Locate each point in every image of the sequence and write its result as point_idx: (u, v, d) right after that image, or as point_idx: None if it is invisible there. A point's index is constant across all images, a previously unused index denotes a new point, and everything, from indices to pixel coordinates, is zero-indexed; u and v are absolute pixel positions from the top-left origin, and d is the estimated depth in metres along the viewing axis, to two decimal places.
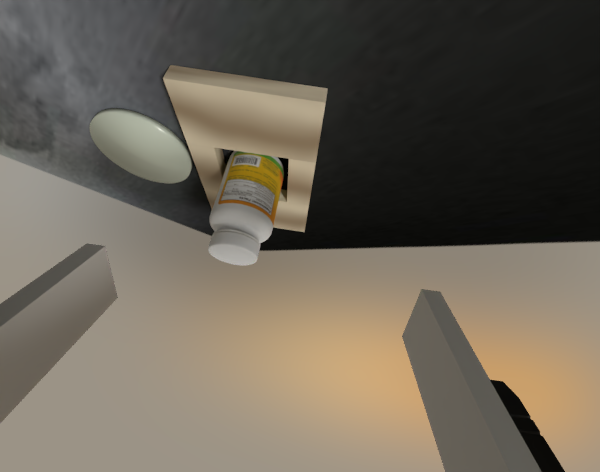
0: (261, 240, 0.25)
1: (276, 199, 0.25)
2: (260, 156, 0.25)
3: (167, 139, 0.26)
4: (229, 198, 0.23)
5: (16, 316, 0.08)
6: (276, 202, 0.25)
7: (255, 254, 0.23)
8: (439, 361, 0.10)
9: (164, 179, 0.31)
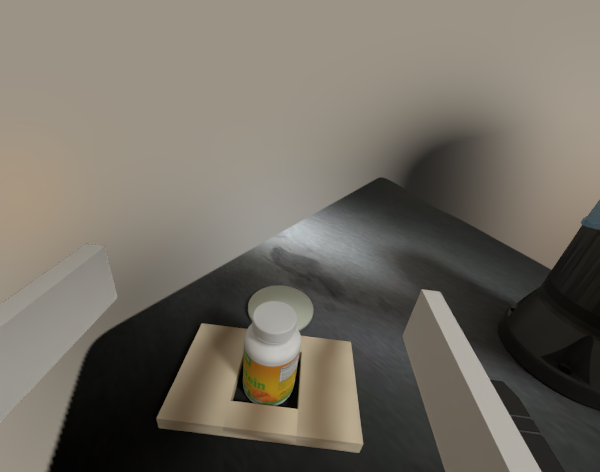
0: (261, 348, 0.25)
1: (274, 382, 0.26)
2: (293, 385, 0.29)
3: (296, 325, 0.37)
4: None
5: (16, 316, 0.08)
6: (272, 381, 0.26)
7: (279, 334, 0.24)
8: (439, 361, 0.10)
9: (252, 306, 0.39)
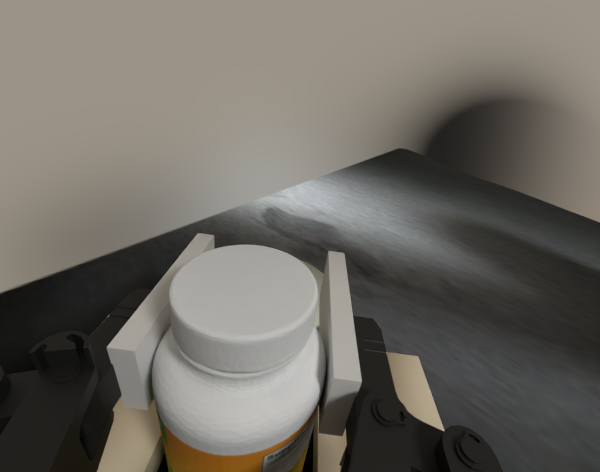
0: (197, 390, 0.07)
1: None
2: None
3: None
4: None
5: None
6: None
7: (254, 343, 0.06)
8: (326, 305, 0.11)
9: None
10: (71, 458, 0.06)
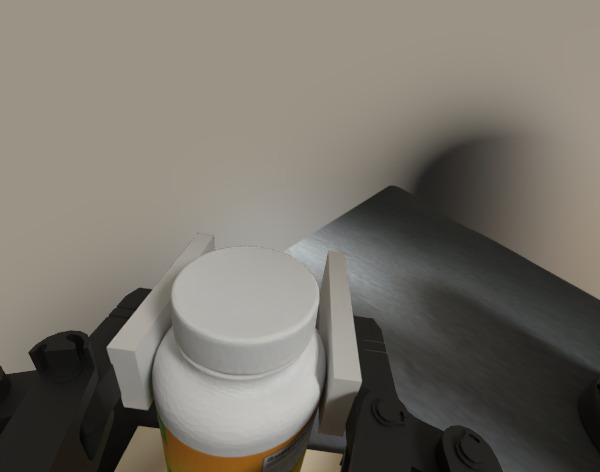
0: (199, 391, 0.07)
1: None
2: None
3: None
4: None
5: None
6: None
7: (256, 345, 0.06)
8: (326, 305, 0.11)
9: None
10: (71, 458, 0.06)
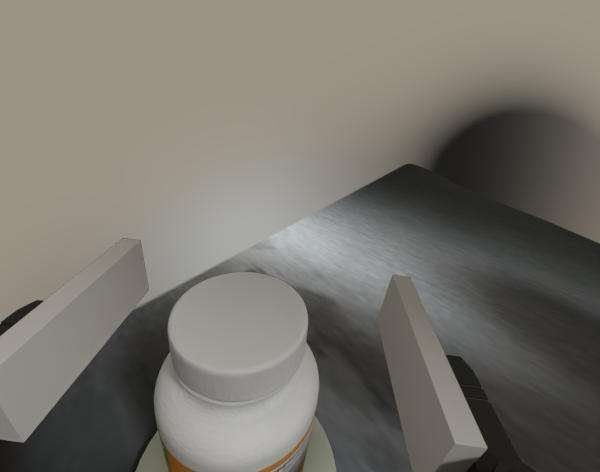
0: (196, 416, 0.08)
1: None
2: None
3: None
4: None
5: (71, 303, 0.09)
6: None
7: (247, 375, 0.07)
8: (403, 339, 0.10)
9: None
10: None
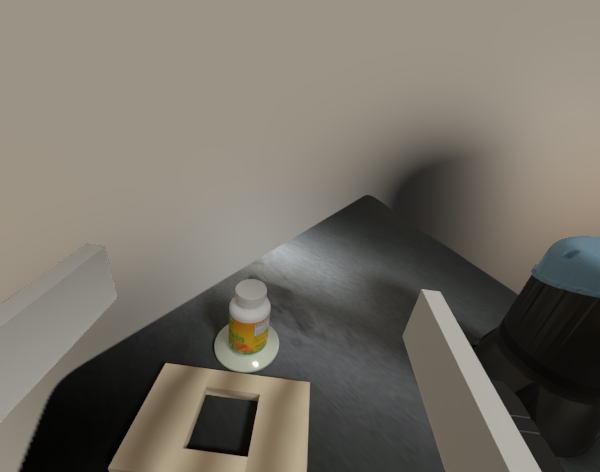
0: (241, 310, 0.36)
1: (250, 336, 0.37)
2: (266, 342, 0.40)
3: (259, 363, 0.38)
4: None
5: (16, 316, 0.08)
6: (249, 335, 0.37)
7: (253, 299, 0.35)
8: (439, 361, 0.10)
9: (219, 342, 0.40)
10: None
